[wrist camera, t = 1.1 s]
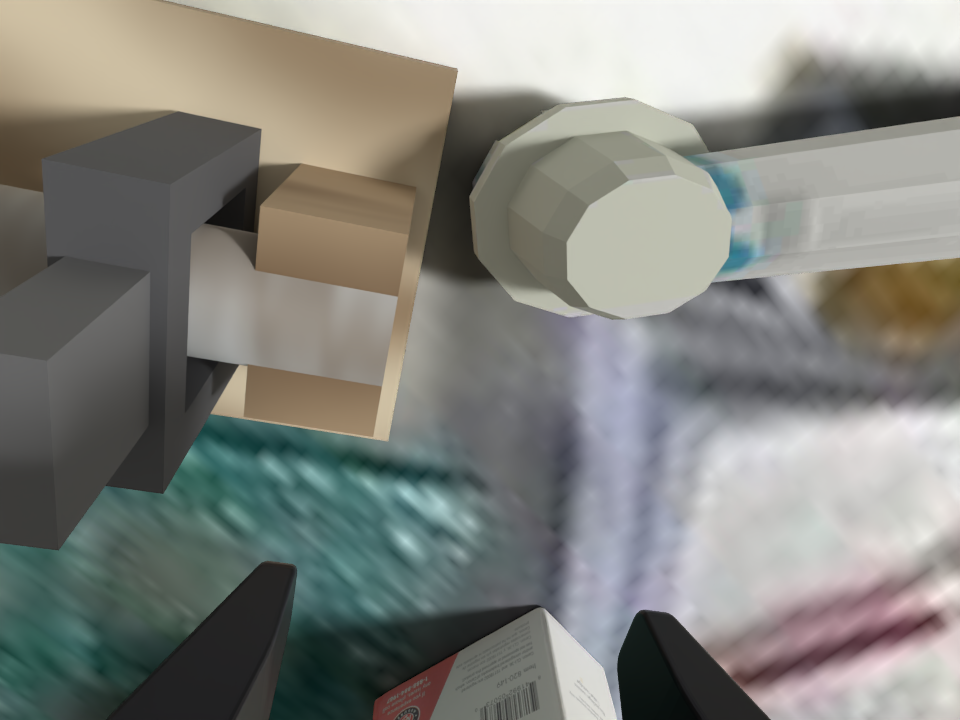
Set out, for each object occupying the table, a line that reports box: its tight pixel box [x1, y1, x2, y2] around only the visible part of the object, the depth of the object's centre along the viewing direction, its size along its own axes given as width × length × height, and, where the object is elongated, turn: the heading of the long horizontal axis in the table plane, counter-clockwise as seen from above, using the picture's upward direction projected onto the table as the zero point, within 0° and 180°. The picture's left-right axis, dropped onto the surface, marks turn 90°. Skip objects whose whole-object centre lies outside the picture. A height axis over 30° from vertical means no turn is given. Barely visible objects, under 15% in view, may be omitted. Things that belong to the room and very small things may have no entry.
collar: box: [0, 111, 262, 550], centre depth 14 cm, size 6×2×10 cm, turn 168°
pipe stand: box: [0, 0, 458, 441], centre depth 16 cm, size 11×19×6 cm, turn 78°
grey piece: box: [469, 97, 960, 320], centre depth 18 cm, size 5×7×25 cm
